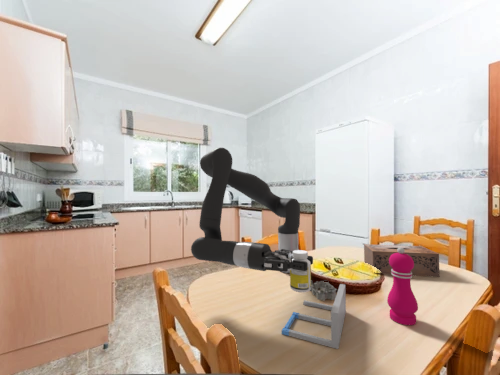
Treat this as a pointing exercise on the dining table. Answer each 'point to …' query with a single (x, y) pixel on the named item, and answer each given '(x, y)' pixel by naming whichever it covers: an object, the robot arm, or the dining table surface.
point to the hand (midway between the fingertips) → (309, 263)
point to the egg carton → (323, 290)
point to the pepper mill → (402, 289)
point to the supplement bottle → (300, 273)
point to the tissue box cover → (422, 257)
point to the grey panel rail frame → (322, 320)
